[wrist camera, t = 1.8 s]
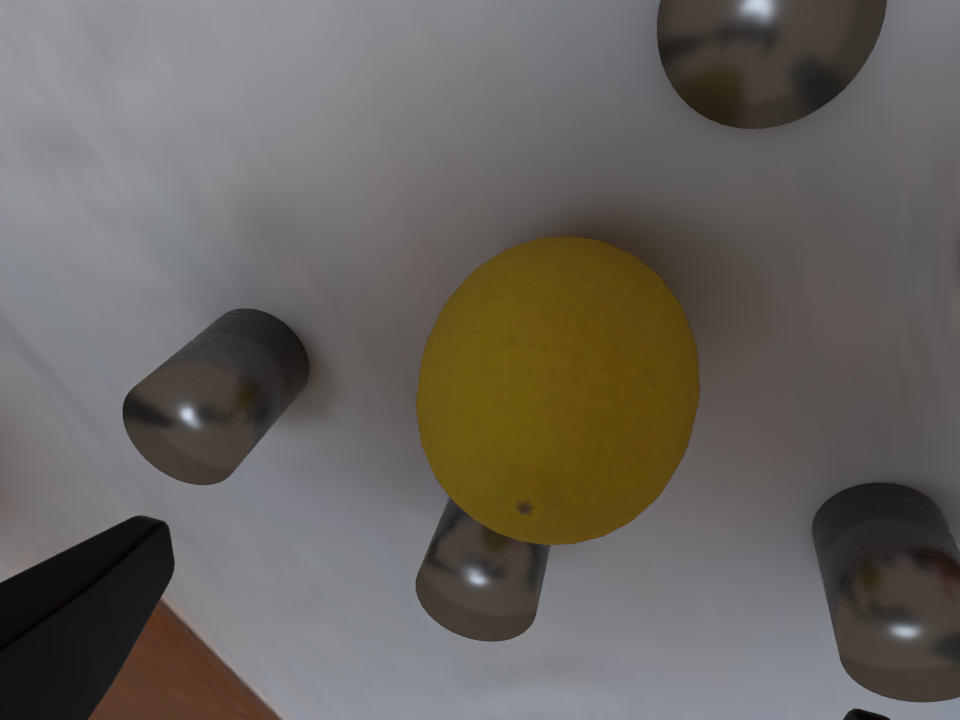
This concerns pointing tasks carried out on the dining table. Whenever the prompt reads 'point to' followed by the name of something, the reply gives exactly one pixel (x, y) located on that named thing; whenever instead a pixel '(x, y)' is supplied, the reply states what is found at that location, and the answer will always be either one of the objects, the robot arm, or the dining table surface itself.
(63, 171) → the dining table surface
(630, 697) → the dining table surface
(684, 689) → the dining table surface
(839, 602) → the spacers
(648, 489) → the lemon
